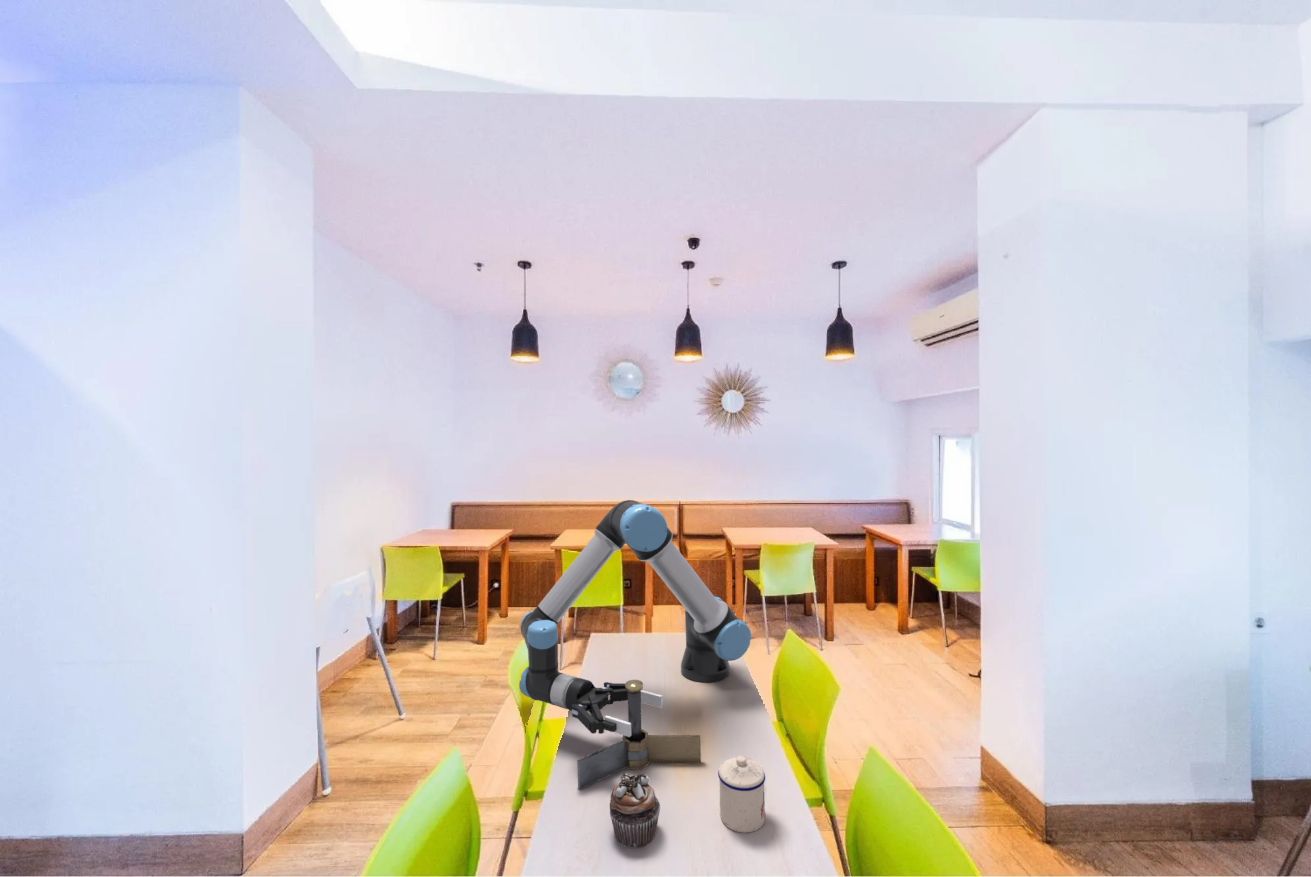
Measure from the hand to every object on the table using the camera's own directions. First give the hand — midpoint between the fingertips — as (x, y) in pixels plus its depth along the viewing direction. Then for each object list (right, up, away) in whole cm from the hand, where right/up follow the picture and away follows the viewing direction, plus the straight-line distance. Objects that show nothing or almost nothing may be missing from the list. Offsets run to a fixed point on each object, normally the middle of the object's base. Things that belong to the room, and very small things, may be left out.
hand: (647, 715), depth 121 cm
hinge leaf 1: (-7, -12, -2) cm, 14 cm away
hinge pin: (-3, -12, +2) cm, 12 cm away
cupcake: (-2, -12, -20) cm, 23 cm away
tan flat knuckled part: (+3, -11, +2) cm, 12 cm away
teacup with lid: (+19, -12, -15) cm, 27 cm away
